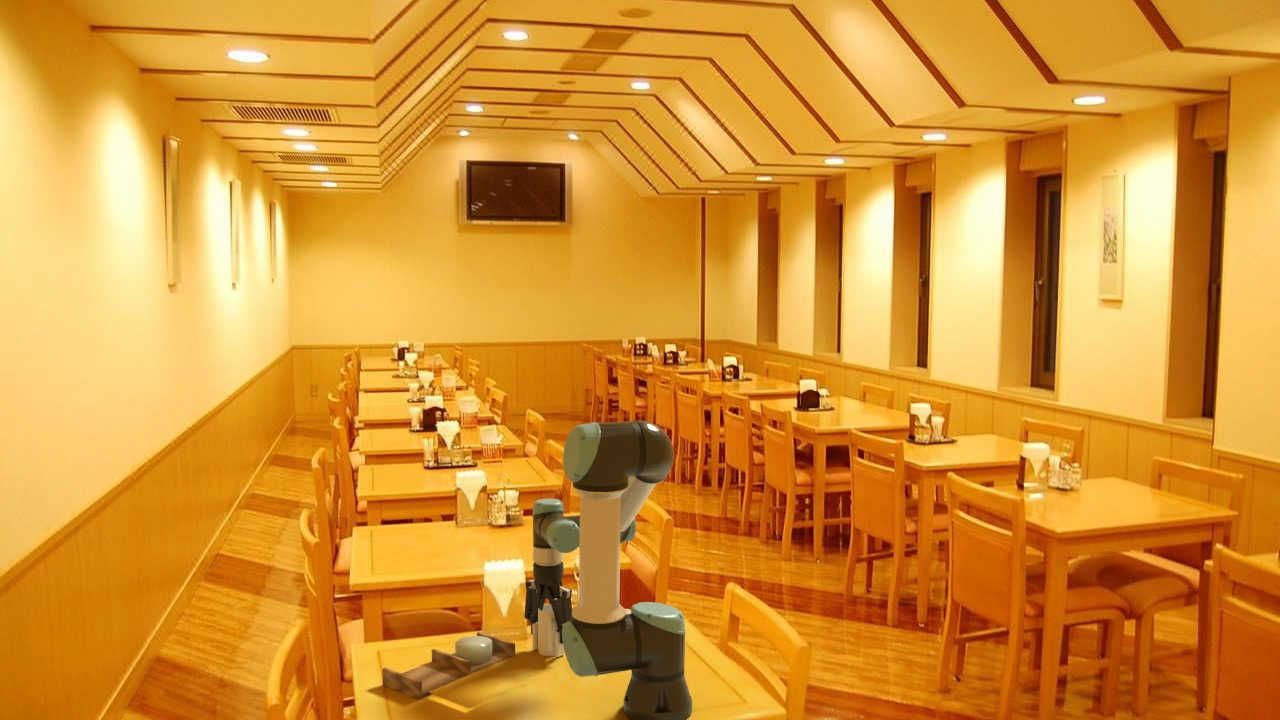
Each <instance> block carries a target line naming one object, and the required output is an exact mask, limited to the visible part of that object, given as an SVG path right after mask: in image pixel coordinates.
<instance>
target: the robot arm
mask: <svg viewBox="0 0 1280 720" xmlns="http://www.w3.org/2000/svg"><path fill="white" fill-rule="evenodd" d="M563 448H564V449H563V457H562V459H563V461H562V462H563V466H564V467H563V472H564V475H565V477H566V479H567V480H568V481H569V482H572V488H573V489H574V490H575V491H576V492H577V494H578V495H579V515H568V516H565V515H564V513H565V510H564V503H563V502H562V500H560V499H557V498H541V499H538V500H536V501H534V503H533V505H532V515H531V516H532V543H533V544H532V545H533V546H532V561H533V563H532V570H533V571H532V576H533V578H532V579H530V580H526V581H525V589H526V594H525V604H524V605H525V606H524V616H523V617H524V619H525V620H529V623H530V634H531V636H532V650H535V651H536V650H538V608H539V609H540V610H541V611H542V610H543V606H544V604H546V603H545V602H546V600H547V601H548V604H551V605H552V609H553V612H554V616H555V620H556V623H557V627H558V630H556V656H555V657H557V658H558V657H561V656H563V655H565V656H566V657H565V658H566V660H567V663H568V666H569V667H570V669H571V670H572V672H573V674H575V675H576V676H578V677H580V678H586V677H598V676H603V675H608V674H614V673H621V672H625V671H631V676H630V679H629V681H628V684H627V685H628V686H627V688H626V691H625V693H624V694H625V695H624V697H623V713H624V714H625V716H626V717H628V719H631V720H683V719H685V720H686V719H688V718H689V717H690V716H691V715H692V713H693V699H692V697H691V694H690V691H689V688H688V687H689V686H688V683H687V680H686V677H685V676H686V675H685V665H686V662H685V658H686V657H685V656H686V652H685V651H686V648H685V647H686V645H685V644H686V632H687V631H686V627H685V626H686V625H685V617H684V616H685V615H684V614H683V613H682V611H681V610H679V609H678V608H676V607H674V606H671V605H669V604H665V603H660V602H654V601H653V602H652V601H642V602H637V603H635V604H632V606H631V608H630V610H631V614H626V610H625V609H626V608H624V607H623V606H622V605H621V604H620V586H621V585H620V580H621V579H620V578H621V577H620V576H621V575H620V573H621V572H620V571H621V569H620V568H621V567H620V566H621V562H620V561H621V544H622V543H627V542H632V541H634V539H635V537H636V532H637V523H636V517H637V515H638V513H639V512H640V511H641V509H642V507H643V506H644V504H645V502H646V501H647V500H648V499H649V496H650V495H651V494H652V492H653V490H654V488H655V486H657V484H660V483H662V482H663V481H664V480H666V478H667V477H668V475H669V473H670V472H671V470H672V468H673V466H674V462H675V450H674V446H673V443H672V441H671V438H670V437H669V435H668V434H667V433H666V432H665V430H663V429H662V428H661V427H660V426H658V425H656V424H654V423H652V422H650V421H646V420H629V421H628V420H626V421H607V422H606V421H604V422H603V421H602V422H601V421H600V422H594V421H592V422H590V423H584V424H582V423H581V424H578V425H575V426H574V427H572V429H570V431H569V433H568V435H567V436H566V439H565V443H564V447H563ZM578 548H579V552H578V554H579V557H578V558H579V560H578V561H579V563H578V565H579V566H578V567H579V568H578V574H579V575H578V604H577V605H575V606H574V607H573V604H572V594H573V589H572V588H570V587H569V588H566V587H564V585H563V581H562V580H563V577H564V575H565V574H564V562H563V560H564V554H569V553H573V552H574V551H576V550H577V549H578ZM562 624H563V625H562ZM690 714H691V715H690ZM689 715H690V716H689ZM688 716H689V717H688ZM687 717H688V718H687Z"/></svg>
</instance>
